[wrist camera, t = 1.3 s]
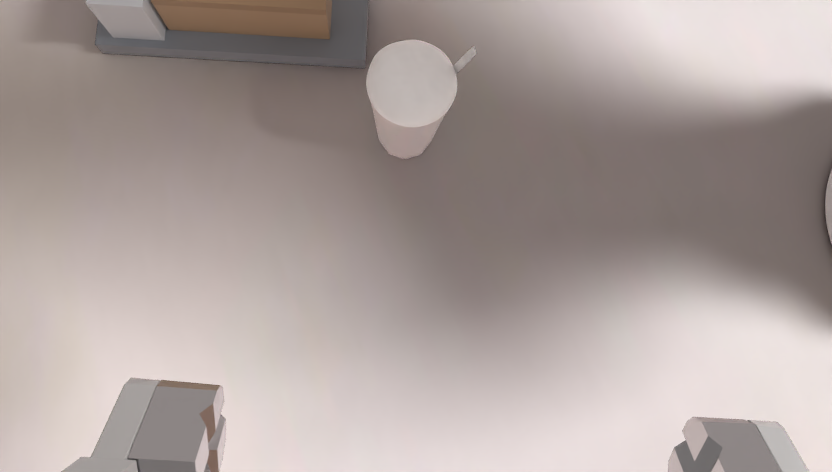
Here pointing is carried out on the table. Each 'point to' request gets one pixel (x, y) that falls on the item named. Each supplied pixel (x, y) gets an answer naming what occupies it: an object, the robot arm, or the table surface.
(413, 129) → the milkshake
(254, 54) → the baseplate
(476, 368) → the table surface
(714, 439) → the robot arm
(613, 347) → the table surface
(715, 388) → the table surface
